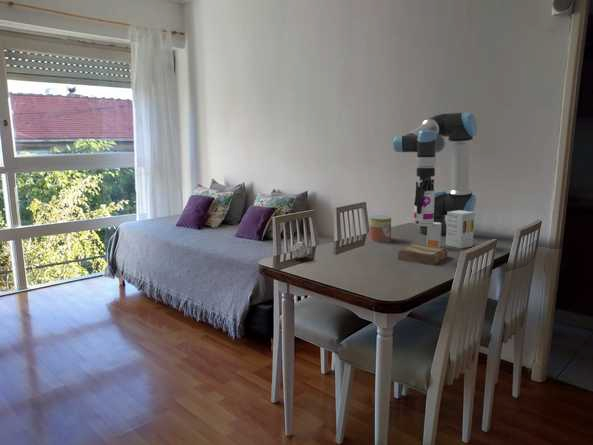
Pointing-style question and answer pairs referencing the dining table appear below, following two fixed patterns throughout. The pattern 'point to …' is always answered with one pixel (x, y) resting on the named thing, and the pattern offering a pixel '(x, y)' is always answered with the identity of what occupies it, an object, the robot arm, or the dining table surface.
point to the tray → (422, 254)
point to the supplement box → (460, 228)
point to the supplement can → (426, 209)
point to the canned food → (380, 228)
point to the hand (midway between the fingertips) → (423, 219)
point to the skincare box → (434, 235)
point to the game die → (299, 250)
